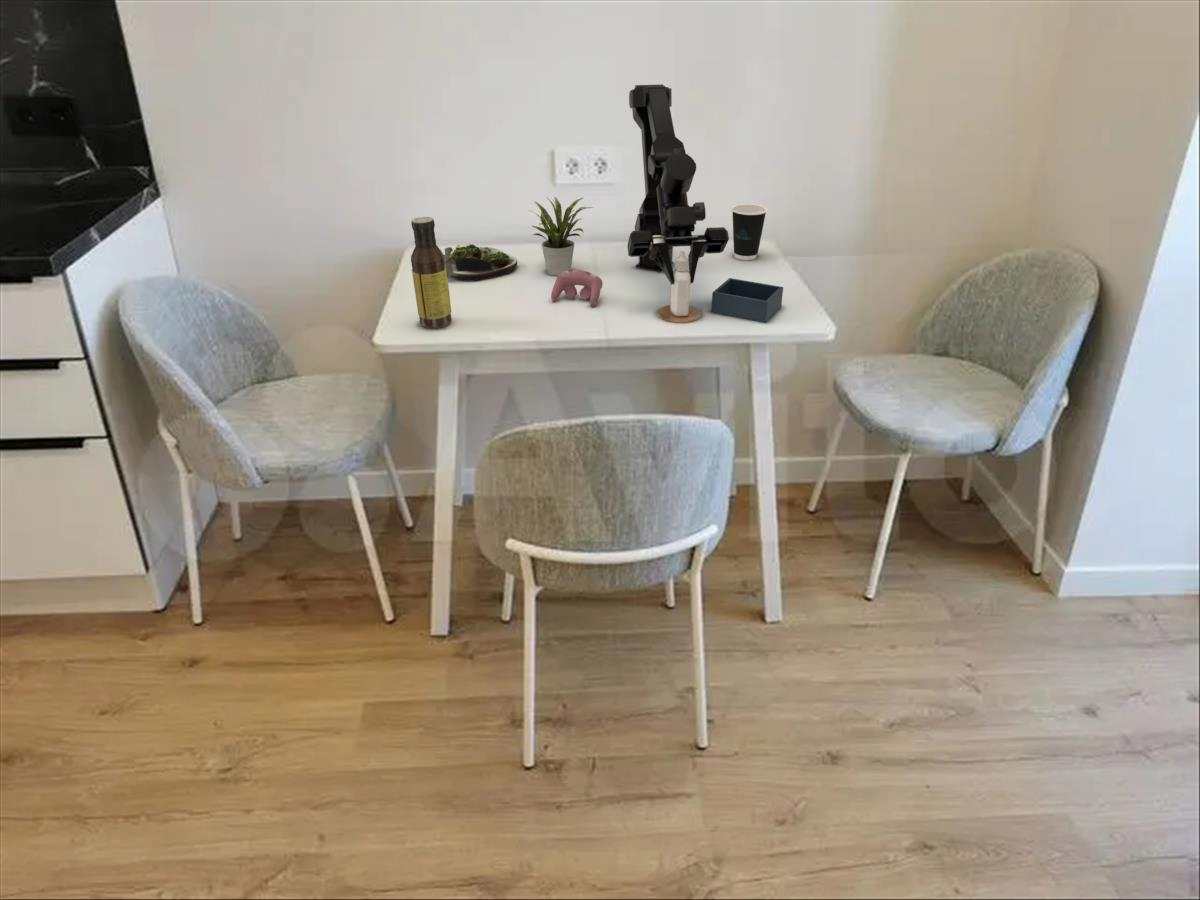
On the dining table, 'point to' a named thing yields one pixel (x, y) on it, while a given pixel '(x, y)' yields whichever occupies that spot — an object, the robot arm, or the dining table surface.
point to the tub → (747, 300)
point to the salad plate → (477, 262)
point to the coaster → (669, 316)
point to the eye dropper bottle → (680, 287)
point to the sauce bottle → (429, 276)
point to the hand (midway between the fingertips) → (682, 283)
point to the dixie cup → (747, 229)
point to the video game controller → (577, 277)
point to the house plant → (558, 237)
